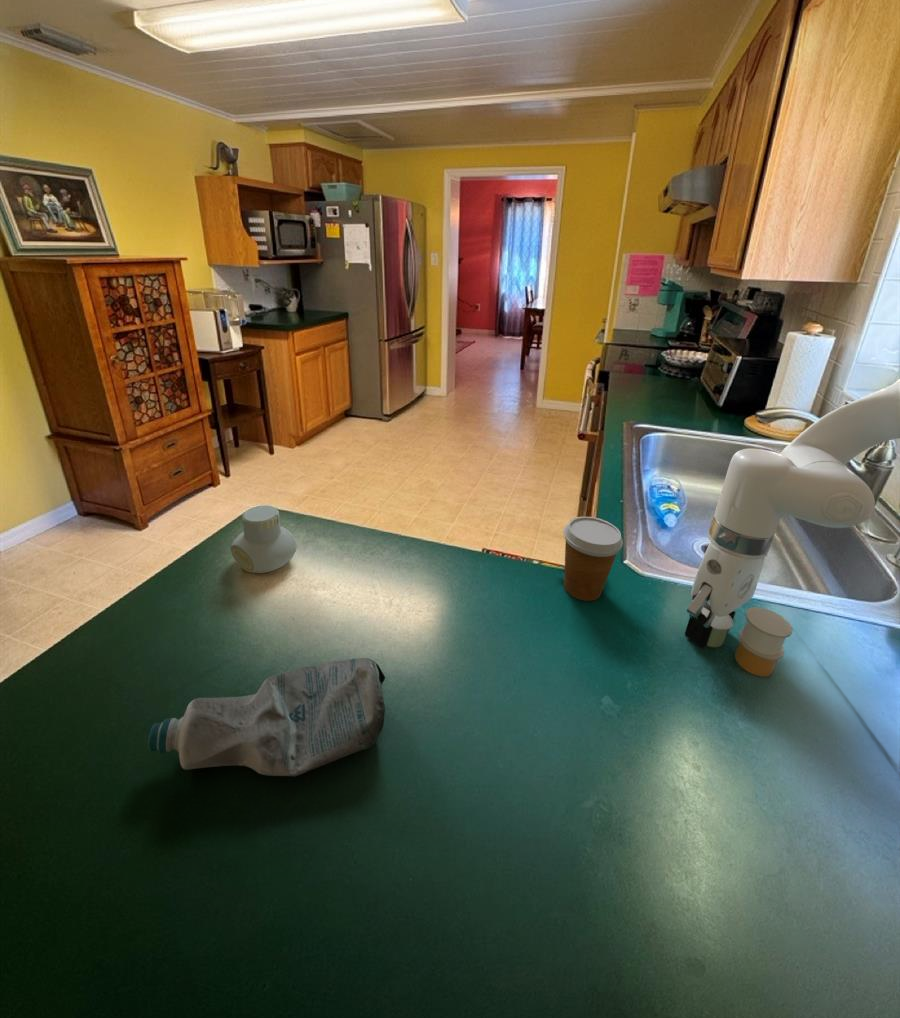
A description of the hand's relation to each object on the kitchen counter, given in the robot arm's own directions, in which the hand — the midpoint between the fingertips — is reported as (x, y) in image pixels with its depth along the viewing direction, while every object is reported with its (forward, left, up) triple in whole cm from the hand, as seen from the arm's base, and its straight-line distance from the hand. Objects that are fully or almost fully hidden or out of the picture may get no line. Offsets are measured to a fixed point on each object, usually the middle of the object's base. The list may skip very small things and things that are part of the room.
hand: (706, 632), depth 73 cm
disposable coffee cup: (+18, -7, -1) cm, 20 cm away
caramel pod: (-5, +5, -1) cm, 7 cm away
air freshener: (+74, -3, -1) cm, 74 cm away
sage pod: (0, 0, -1) cm, 1 cm away
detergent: (+57, +27, -1) cm, 63 cm away
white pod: (-5, +5, +3) cm, 7 cm away
